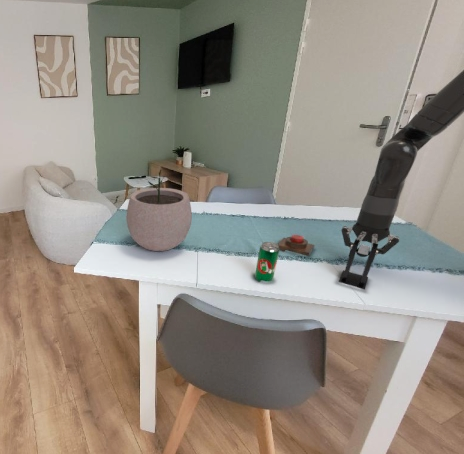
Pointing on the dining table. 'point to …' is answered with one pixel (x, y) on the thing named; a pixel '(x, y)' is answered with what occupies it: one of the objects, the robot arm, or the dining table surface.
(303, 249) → the button housing
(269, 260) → the soda can
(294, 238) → the button
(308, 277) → the dining table surface
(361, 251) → the press lever
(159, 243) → the plant pot
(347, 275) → the lever bracket
